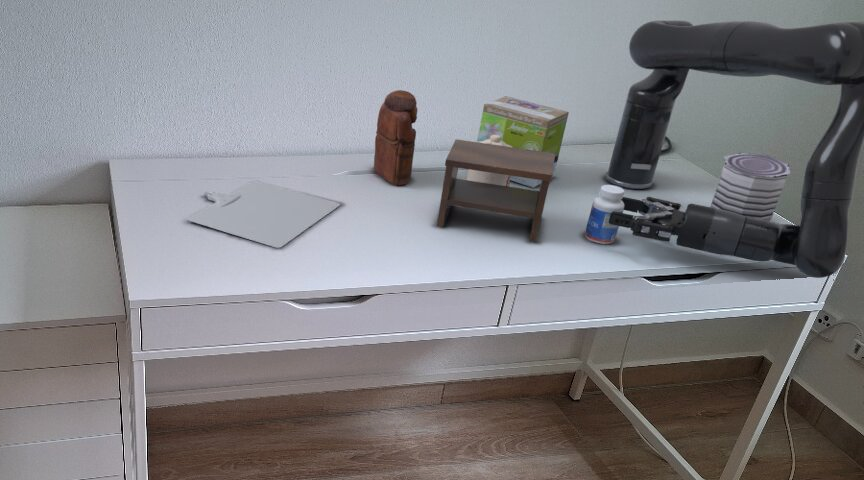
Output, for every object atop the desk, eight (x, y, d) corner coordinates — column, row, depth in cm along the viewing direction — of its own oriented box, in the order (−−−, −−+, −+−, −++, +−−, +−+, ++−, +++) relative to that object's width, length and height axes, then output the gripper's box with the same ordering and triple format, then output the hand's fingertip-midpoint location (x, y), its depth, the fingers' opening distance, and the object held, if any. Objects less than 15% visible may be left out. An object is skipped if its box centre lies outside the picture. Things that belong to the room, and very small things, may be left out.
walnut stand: (445, 203, 171) (455, 139, 165) (540, 218, 167) (555, 153, 160) (435, 226, 161) (445, 159, 154) (536, 243, 156) (552, 175, 150)
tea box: (470, 170, 189) (482, 102, 181) (492, 160, 195) (505, 94, 188) (534, 189, 180) (549, 119, 173) (555, 177, 187) (570, 109, 180)
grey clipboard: (238, 178, 178) (238, 172, 177) (341, 207, 169) (341, 201, 168) (167, 217, 159) (167, 211, 158) (278, 251, 150) (279, 245, 149)
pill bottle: (579, 232, 162) (591, 182, 157) (607, 232, 162) (620, 183, 157) (591, 244, 157) (604, 193, 152) (619, 244, 157) (633, 194, 152)
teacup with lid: (514, 199, 175) (526, 143, 169) (471, 199, 174) (481, 142, 168) (494, 178, 185) (504, 124, 179) (453, 178, 184) (462, 124, 178)
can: (782, 227, 168) (804, 168, 162) (743, 236, 164) (764, 175, 158) (732, 206, 177) (751, 149, 171) (693, 214, 172) (711, 155, 166)
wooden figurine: (419, 184, 180) (431, 97, 170) (392, 187, 178) (403, 99, 168) (391, 165, 189) (402, 82, 180) (365, 168, 187) (375, 84, 178)
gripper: (720, 197, 153) (625, 178, 160) (714, 223, 142) (612, 202, 149) (707, 236, 157) (615, 216, 163) (700, 264, 146) (601, 242, 153)
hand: (613, 209), depth 156 cm, fingers open, 8 cm apart
